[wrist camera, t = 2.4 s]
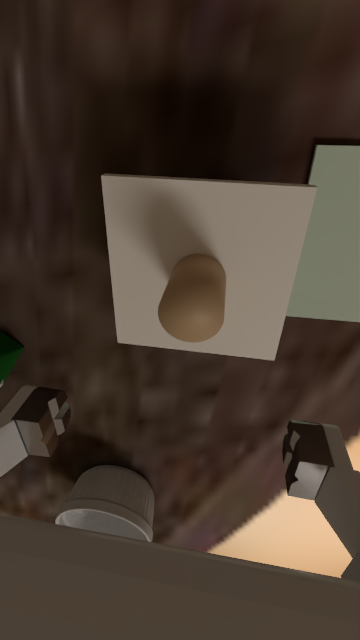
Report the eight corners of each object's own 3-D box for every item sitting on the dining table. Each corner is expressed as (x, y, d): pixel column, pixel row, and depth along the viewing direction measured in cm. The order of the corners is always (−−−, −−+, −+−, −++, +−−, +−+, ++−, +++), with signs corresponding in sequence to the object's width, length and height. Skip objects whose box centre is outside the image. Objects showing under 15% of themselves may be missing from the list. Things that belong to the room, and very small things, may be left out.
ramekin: (179, 495, 47) (171, 548, 41) (123, 515, 53) (109, 564, 47) (112, 446, 42) (93, 498, 37) (60, 475, 49) (36, 523, 43)
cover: (105, 173, 19) (65, 190, 14) (314, 184, 17) (341, 207, 13) (120, 336, 25) (96, 382, 21) (273, 353, 24) (281, 407, 19)
